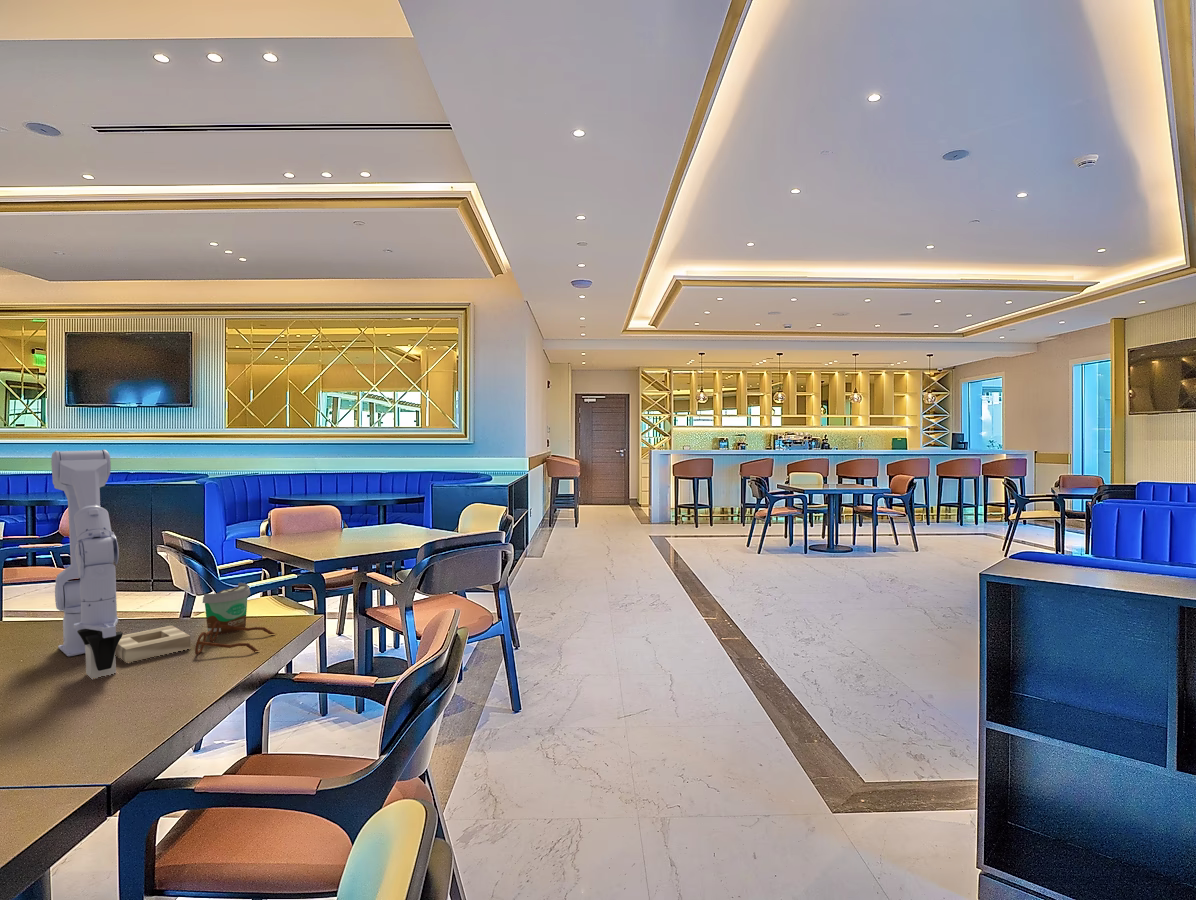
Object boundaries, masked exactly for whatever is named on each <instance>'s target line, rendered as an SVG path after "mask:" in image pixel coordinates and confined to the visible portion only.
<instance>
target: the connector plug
mask: <svg viewBox="0 0 1196 900" xmlns="http://www.w3.org/2000/svg"><path fill="white" fill-rule="evenodd" d="M84 654H85V675H86V674H87V675H88V676H89V677H90V678H91V679H92V680H94V679H93V678H96V679H99V678H98V677H101V676H105V677H107V676H106V675H109V676H112V675H111V674H113V675H115V674H114V673H116V674H117V666H116V665H117V664H116V663H117V662H116V657H117V656H115V654H114V659H113V663H112V667H111V668H110V669H105V670H101V671H98V669H97V667H96V663H95V658H94V654H93V650H92V648H91V646H90V644H87V645H85V653H84ZM87 675H86V676H87ZM88 676H87V677H88ZM89 677H88V678H89ZM90 678H89V679H90ZM101 678H102V677H101ZM91 679H90V680H91Z"/></svg>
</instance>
